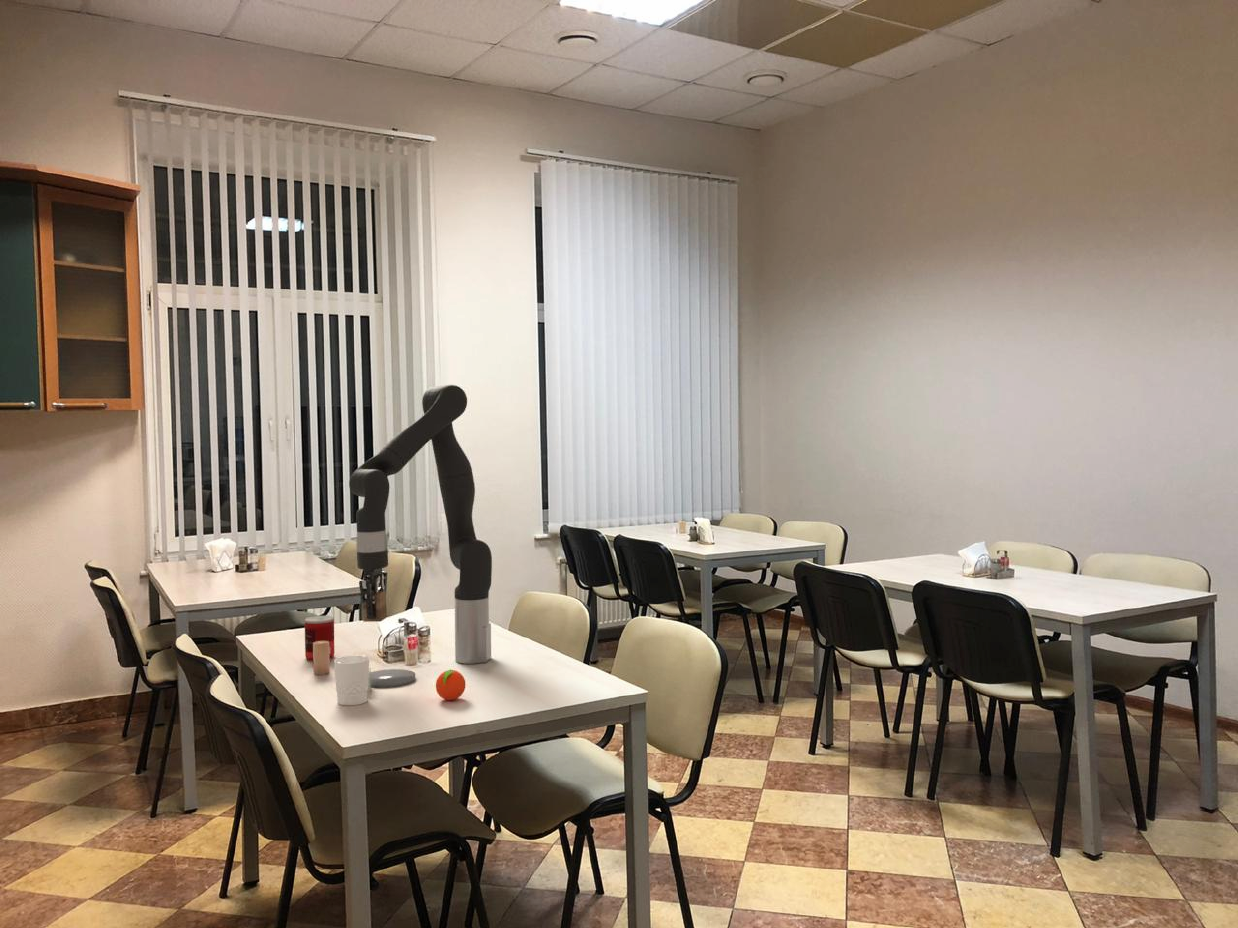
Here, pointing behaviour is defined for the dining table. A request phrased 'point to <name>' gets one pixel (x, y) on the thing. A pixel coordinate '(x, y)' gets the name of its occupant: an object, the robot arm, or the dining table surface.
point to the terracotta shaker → (321, 657)
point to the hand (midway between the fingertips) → (375, 616)
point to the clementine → (450, 685)
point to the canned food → (319, 634)
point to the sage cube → (369, 681)
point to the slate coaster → (391, 678)
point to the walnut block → (377, 608)
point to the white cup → (352, 679)
